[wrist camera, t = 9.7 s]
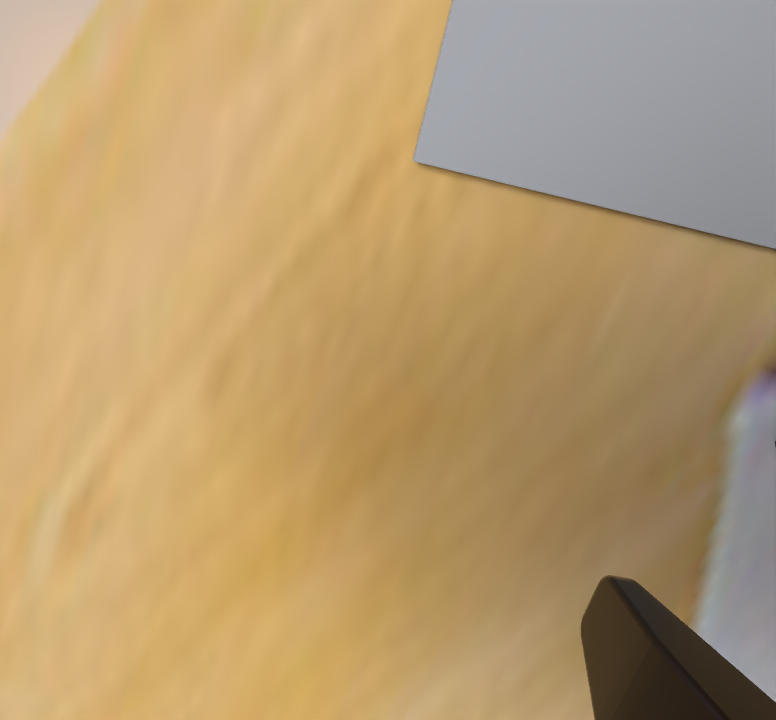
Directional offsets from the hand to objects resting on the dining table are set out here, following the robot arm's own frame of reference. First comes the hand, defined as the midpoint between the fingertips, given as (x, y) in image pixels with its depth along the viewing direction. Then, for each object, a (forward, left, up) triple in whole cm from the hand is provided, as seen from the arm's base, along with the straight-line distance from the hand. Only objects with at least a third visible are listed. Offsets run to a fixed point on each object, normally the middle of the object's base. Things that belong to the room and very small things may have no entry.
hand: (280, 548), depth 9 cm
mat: (-8, -8, -13) cm, 17 cm away
